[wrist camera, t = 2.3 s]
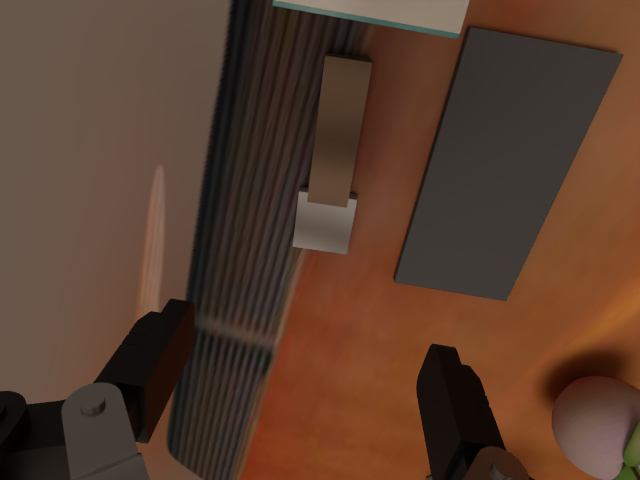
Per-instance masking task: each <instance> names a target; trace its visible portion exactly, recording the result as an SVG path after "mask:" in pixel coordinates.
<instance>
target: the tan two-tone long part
mask: <svg viewBox="0 0 640 480" xmlns="http://www.w3.org/2000/svg"><path fill="white" fill-rule="evenodd" d="M372 64H373V62H372V60H371V59H368V58H362V57H355V56H348V55H341V54H335V53H328V52H327V54H326V55H325V61H324V69H323V77H322V85H321V93H320V101H319V109H318V117H317V125H316V133H315V141H314V149H313V158H312V166H311V174H310V182H309V187H302V186H301V187H300V190H299V196H298V205H297V214H296V223H295V231H294V240H293V247H300V248H306V249H313V250H320V251H327V252H334V253H341V254H347V252H348V246H349V241H350V236H351V230H352V225H353V220H354V215H355V209H356V204H357V195H356V194H350V188H351V182H352V177H353V171H354V165H355V160H356V154H357V149H358V143H359V137H360V132H361V126H362V120H363V115H364V109H365V104H366V98H367V92H368V87H369V81H370V75H371V70H372Z"/></svg>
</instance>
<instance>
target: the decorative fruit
mask: <svg viewBox="0 0 640 480" xmlns="http://www.w3.org/2000/svg"><path fill="white" fill-rule="evenodd" d="M552 429H553V433H554V436H555V439H556V441H557V443H558V445H559V447H560V448H561V450H562V451H563V453H564V454H565V456H566V457H567V458H568V459H569V460H570V461H571V462H572V464H574V465H575V466H576V467H577V468H579V469H580V470H581V471H583V472H585V473H586V474H589V475H591V476H593V477H596V478H599V479H602V480H640V390H638V389H637V388H635V387H634V386H632V385H630V384H628V383H626V382H623V381H621V380H618V379H614V378H610V377H605V376H588V377H583V378H579V379H577V380H575V381H573V382H572V383H570V384H569V385H568V386H567V387H566V388H565V389H564V390H563V391H562V392H561V394H560V395H559V397H558V398H557V400H556V402H555V404H554V406H553V410H552Z"/></svg>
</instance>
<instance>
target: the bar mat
mask: <svg viewBox="0 0 640 480" xmlns="http://www.w3.org/2000/svg"><path fill="white" fill-rule="evenodd" d="M622 57H623V54H617V53H612V52H606V51H601V50H595V49H590V48H584V47H579V46H573V45H568V44H562V43H557V42H551V41H546V40H540V39H535V38H529V37H524V36H518V35H513V34H507V33H502V32H496V31H491V30H485V29H480V28H474V27H468V28H467V31H466V35H465V38H464V41H463V45H462V48H461V51H460V55H459V58H458V62H457V65H456V68H455V72H454V75H453V78H452V82H451V85H450V89H449V92H448V95H447V99H446V102H445V105H444V109H443V112H442V115H441V119H440V122H439V126H438V129H437V132H436V136H435V139H434V142H433V146H432V149H431V153H430V156H429V159H428V163H427V166H426V169H425V173H424V176H423V179H422V183H421V186H420V190H419V193H418V196H417V200H416V203H415V206H414V210H413V213H412V217H411V220H410V223H409V227H408V230H407V233H406V237H405V240H404V243H403V247H402V250H401V254H400V257H399V260H398V264H397V267H396V270H395V274H394V282H396V283H402V284H408V285H413V286H419V287H425V288H431V289H437V290H443V291H449V292H455V293H461V294H467V295H473V296H478V297H484V298H490V299H496V300H502V301H507V298H508V296H509V294H510V292H511V290H512V288H513V286H514V284H515V282H516V280H517V277H518V275H519V273H520V271H521V269H522V267H523V265H524V263H525V261H526V259H527V256H528V254H529V252H530V250H531V248H532V246H533V244H534V242H535V240H536V238H537V235H538V233H539V231H540V229H541V227H542V225H543V223H544V221H545V219H546V217H547V214H548V212H549V210H550V208H551V206H552V204H553V202H554V200H555V198H556V196H557V193H558V191H559V189H560V187H561V185H562V183H563V181H564V179H565V177H566V175H567V172H568V170H569V168H570V166H571V164H572V162H573V160H574V158H575V156H576V154H577V151H578V149H579V147H580V145H581V143H582V141H583V139H584V137H585V135H586V133H587V130H588V128H589V126H590V124H591V122H592V120H593V118H594V116H595V114H596V112H597V109H598V107H599V105H600V103H601V101H602V99H603V97H604V95H605V93H606V91H607V88H608V86H609V84H610V82H611V80H612V78H613V76H614V74H615V72H616V70H617V67H618V65H619V63H620V61H621V59H622Z"/></svg>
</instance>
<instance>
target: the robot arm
mask: <svg viewBox="0 0 640 480" xmlns="http://www.w3.org/2000/svg"><path fill="white" fill-rule="evenodd" d="M194 322H195V305H194V303H193V302H189V301H183V300H176V299H170V300H169V301H168V303H167V304H166V306H165V307H164V309H163V310H162V312H161V313H158V312H153V311H151V312H149V313H148V314H146V315H145V316H143V317H142V318H140V319H139V320H137V322H136V323H135V325H134V326H133V328H132V329H131V330H130V332H129V335H127V336H126V337H125V339H124V340H123V342H122V345H120V346H119V347H118V349H117V350H116V352H115V353H114V355H113V356H112V357H111V359H110V360H109V362H108V363H107V364H106V366H105V367H104V369H103V370H102V372H101V373H100V375H99V376H98V377H97V379H96V380H95V381H94V382H93V384H89V385H86V386H83V387H81V388H79V389H78V390H76V391H74V392H73V393H72V394H71V395H70V396H69V397H68V398H67V399H65V400H61V401H55V402H45V403H38V404H37V403H36V404H26V401H25V398H24V397H23V396H22V395H20V394H19V393H16V392H12V391H1V392H0V480H150V479H149V476H148V472H147V469H146V465H145V462H144V459H143V456H142V454H141V453H139V452H138V449H137V445H136V442H141V443H148V442H149V440H150V438H151V436H152V434H153V432H154V429H155V428H156V425H157V423H158V421H159V419H160V417H161V415H162V413H163V411H164V409H165V406H166V404H167V402H168V400H169V398H170V396H171V394H172V392H173V390H174V388H175V385H176V383H177V381H178V379H179V377H180V375H181V373H182V371H183V369H184V366H185V364H186V362H187V360H188V358H189V356H190V353H191V350H192V347H193V342H194ZM416 389H417V398H418V404H419V409H420V415H421V420H422V426H423V431H424V437H425V442H426V447H427V453H428V458H429V464H430V469H431V475H432V480H534V479H532V478H531V477H529V475H528V473H527V471H526V469H525V468H524V466H523V465H522V464H521V462H520V461H519V460H518V459H517V458H516V457H515V456H513V455H512V454H511V453H509V452H507V451H506V448H505V446H504V443H503V440H502V438H501V435H500V432H499V429H498V427H497V424H496V421H495V419H494V416H493V413H492V410H491V408H490V407H489V402H488V399H487V397H486V396H485V391H484V389H483V386H482V383H481V380H480V378H479V377H478V376H477V375H476V373H475V372H474V371H473V370H472V368H471V367H470V366H468V365H462V364H461V361H460V358H459V355H458V352H457V350H456V348H454V347H449V346H443V345H438V344H431V346H430V347H429V350H428V352H427V355H426V357H425V360H424V362H423V365H422V367H421V370H420V373H419V375H418V379H417V388H416Z"/></svg>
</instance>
